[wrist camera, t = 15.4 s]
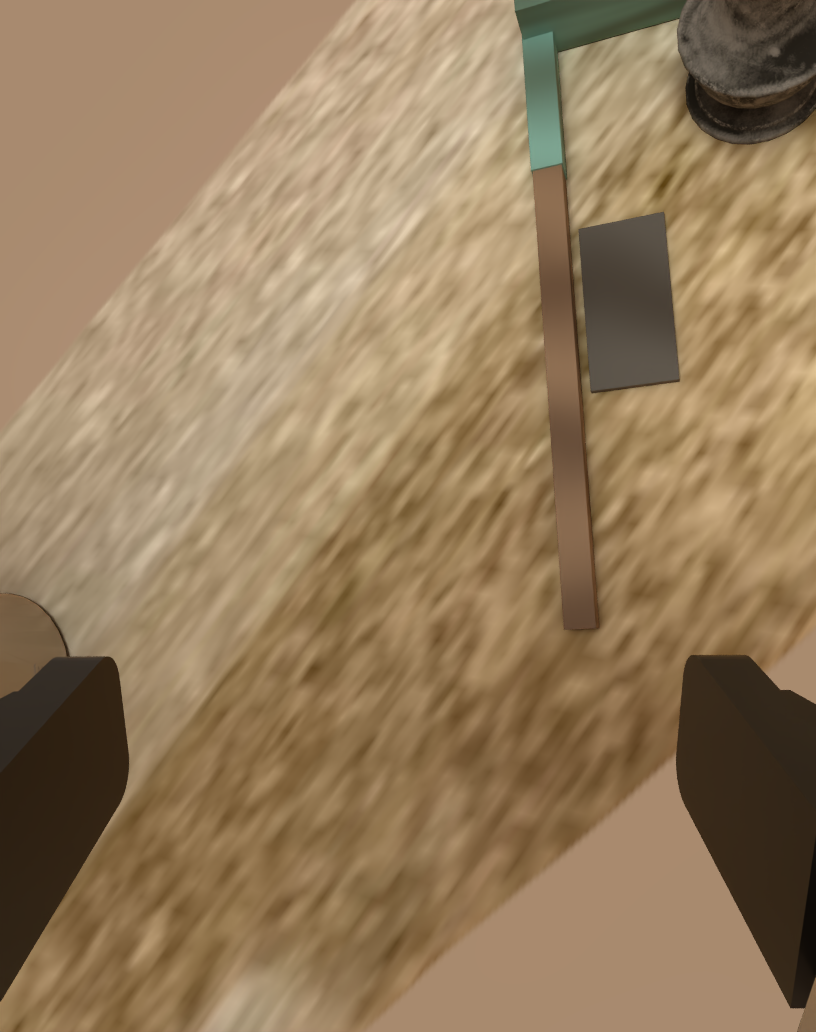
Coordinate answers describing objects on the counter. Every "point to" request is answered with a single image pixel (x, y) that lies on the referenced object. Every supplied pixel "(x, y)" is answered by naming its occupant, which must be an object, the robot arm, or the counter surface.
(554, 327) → the track
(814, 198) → the counter surface
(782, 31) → the salt shaker
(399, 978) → the counter surface
